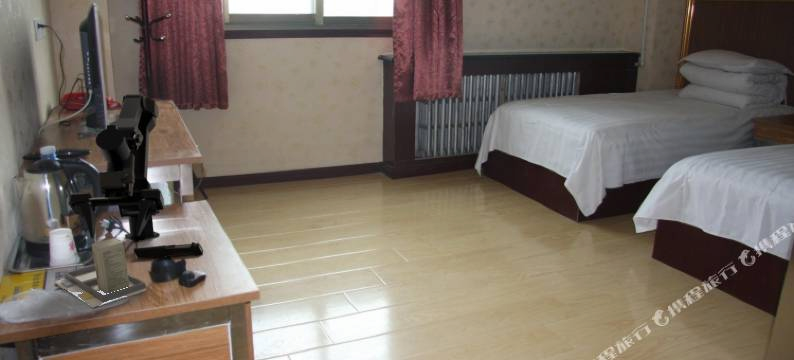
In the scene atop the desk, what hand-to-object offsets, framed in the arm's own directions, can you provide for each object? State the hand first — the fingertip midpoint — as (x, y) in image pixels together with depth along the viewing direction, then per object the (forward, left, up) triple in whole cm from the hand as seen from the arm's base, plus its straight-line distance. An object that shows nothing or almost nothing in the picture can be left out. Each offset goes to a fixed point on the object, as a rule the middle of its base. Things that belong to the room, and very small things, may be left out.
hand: (115, 236), depth 135 cm
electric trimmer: (-4, +14, -10) cm, 18 cm away
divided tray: (+1, -5, -10) cm, 11 cm away
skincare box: (+5, -4, -9) cm, 11 cm away
